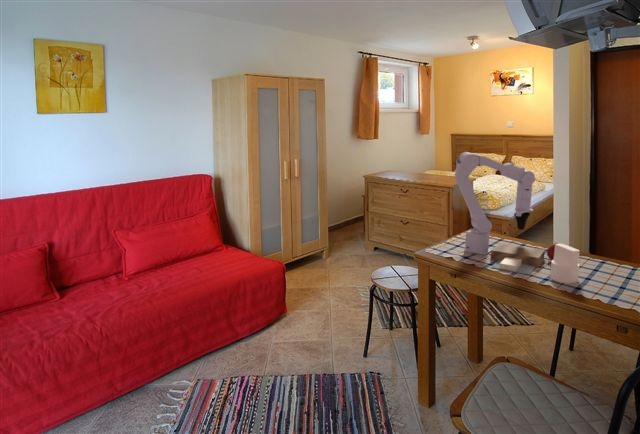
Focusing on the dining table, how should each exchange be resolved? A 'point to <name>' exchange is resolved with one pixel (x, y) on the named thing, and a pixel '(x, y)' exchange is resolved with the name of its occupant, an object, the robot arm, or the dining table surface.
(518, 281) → the dining table surface
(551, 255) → the onion
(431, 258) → the dining table surface
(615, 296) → the dining table surface
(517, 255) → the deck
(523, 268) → the mat
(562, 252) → the base with upright slab
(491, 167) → the robot arm
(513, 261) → the tan tilted rectangular prism
